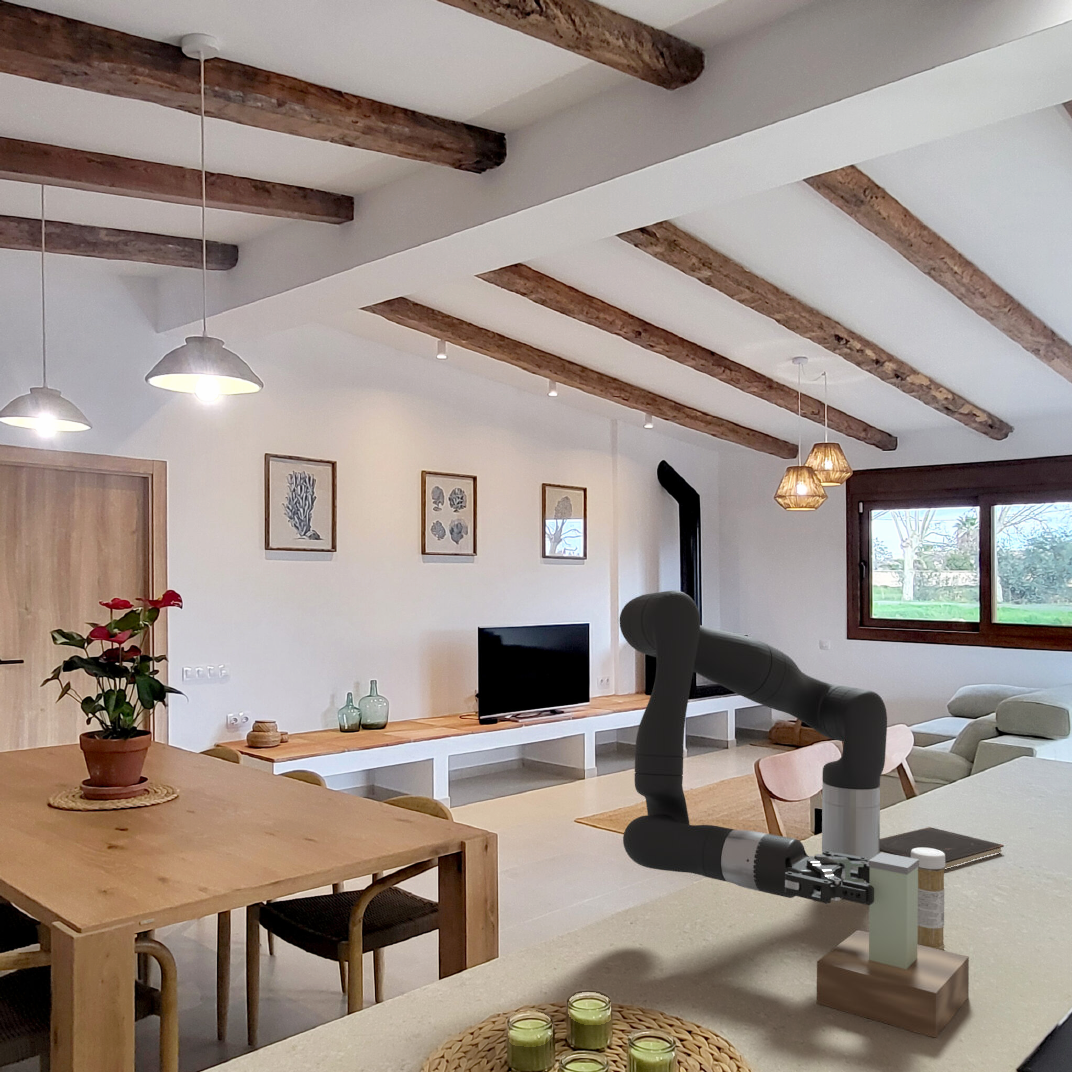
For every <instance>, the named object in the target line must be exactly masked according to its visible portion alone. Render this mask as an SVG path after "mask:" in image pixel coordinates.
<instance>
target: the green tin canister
mask: <svg viewBox="0 0 1072 1072" xmlns="http://www.w3.org/2000/svg"><path fill="white" fill-rule="evenodd" d="M918 866H919V859H915V858H909V857H904V856H899V855H893V854H888V853H882V852H881V853H879V854H878V855H876V856H875V857H873V858H872V859H870V860H869V867H870V885H871V886H872V887H873V888H874V902H873V903H872V904H871V905H868V906H869V911H868V912H869V913H868V914H869V915H868V917H869V918H868V924H869V925H868V933H869V960H871V961H875V962H879V963H883V964H887V965H891V966H895V967H899V968H903V969H907V968H908V967H909V966H910V965H911V964H912V963H913V962H914V961H915V960H916V959H917V940H918Z"/></svg>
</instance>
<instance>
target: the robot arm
mask: <svg viewBox="0 0 1072 1072" xmlns="http://www.w3.org/2000/svg"><path fill="white" fill-rule="evenodd" d="M619 627H620V630H621V631H620V632H621V634H622V636H623V638H624V639H625V641H626V642H627V643H628V644H629V646H630V647H631V648H633V649H635V651H637V652H639V653H642V654H643V655H648V656H650V657H653V658H656V668H655V669H656V670H655V678H654V684H653V688H652V691H651V695H650V697H649V700H648V702H647V705H646V708H645V710H644V712H643V715H642V717H641V719H640V723H639V725H638V730H637V734H636V739H635V746H634V747H635V753H634V787H635V791H636V792H637V793H638V794H639V795H640V796H641V797H642V796H643V797H644V798H645V802H646V810H647V815H641V816H639V817H636V818H634V819H633V820H632V821H631V822H630V823H628V825H627V826H626V828H625V829H624V833H623V837H622V839H623V840H622V842H623V847H624V850H625V852H626V854H627V856H628V857H629V858H630V860H632V861H633V862H634V863H636V864H638V866H639V865H640V866H641V867H644V868H647V869H654V870H658V871H668V872H676V873H689V874H694V875H699V876H702V877H705V878H710V879H712V880H718V881H721V882H727V883H729V884H730V883H731V884H734V885H736V886H738V887H741V888H745V889H748V890H752V891H758V892H762V893H765V894H766V893H767V894H771V895H775V896H780V897H784V898H788V899H792V898H795V897H798V898H803V899H807V900H811V901H815V902H819V903H822V904H827V905H828V904H830V903H832V901H835V902H838V901H842V900H844V901H847V902H853V903H857V904H862V905H865V906H866V905H867V906H869V905H871V904H872V903H873V902H874V888H873V887H872V886H871V885H870V867H869V860H870V859H872V858H873V857H875V856H876V855H878V854H879V853H880V839H881V837H880V836H881V834H880V832H881V829H880V828H881V827H880V825H881V824H880V823H881V822H880V818H881V807H880V806H881V804H880V803H881V802H880V801H881V792H880V791H881V788H880V787H881V776H882V774H883V771H884V768H885V762H886V752H887V751H886V749H887V747H886V746H887V736H888V735H887V734H888V715H887V713H888V712H887V709H886V705H885V702H884V700H883V699H882V697H881V696H880V695H879V694H878V693H876V692H875V691H872V690H870V689H866V688H865V689H864V688H857V687H850V686H844V685H837V684H833V683H828V682H825V681H821V680H820V679H817V678H814V677H811V676H809V675H808V674H806V673H804V672H802V671H801V669H800V668H799V666H798V665H797V664H796V662H795V661H794V660H793V659H792V658H791V657H790V656H789V655H787V654H786V653H784V652H783V651H781V650H779V649H778V648H775V647H773V646H772V645H769V644H768V643H765V642H764V641H761V640H759V639H757V638H754V637H751V636H749V635H744V634H740V633H736V632H731V631H727V630H722V629H717V628H712V627H707V626H704V625H701V615H700V612H699V608H698V606H697V604H696V602H695V601H694V600H693V598H692V597H691V596H690V595H688V594H686V593H685V592H683V591H680V590H667V591H660V592H654V593H653V592H652V593H645V594H641V595H638V596H635V597H634V598H633V599H631V600H629V601H628V602H627V603H626V604H625V605H624V607H623V608H622V609H621V612H620V614H619ZM694 673H696V674H698V675H700V676H701V677H704V678H706V679H707V680H709V681H711V682H713V683H715V684H717V685H719V686H721V687H724V688H725V689H728V690H729V691H732V692H733V693H735V694H737V695H739V696H742V697H743V698H745V699H748V700H750V701H751V702H754V703H756V704H759V705H762V706H764V707H767V708H770V709H772V710H776V711H779V712H783V713H786V714H787V715H788V714H789V715H790V716H792V717H794V718H796V719H797V720H799V721H800V722H803V723H804V724H805V725H807V726H809V727H810V728H812V729H813V730H814V731H816V732H818V733H819V734H821V735H823V736H825V737H827V738H828V739H832V740H834V741H839V742H843V744H842V745H843V746H842V753H841V757H839V758H838V760H834V761H829V762H826V763H825V764H824V766H823V767H822V779H821V780H822V783H821V784H822V789H821V790H822V791H821V792H822V796H821V799H822V801H821V802H822V805H821V806H822V807H821V808H822V809H821V811H822V812H821V816H822V817H821V818H822V821H821V830H822V831H821V854H814V856H809V855H808V854H807V852H806V850H805V846H804V844H803V842H801V840H799V839H797V838H793V837H787V836H781V835H776V834H771V833H767V832H760V831H757V830H748V829H747V830H746V829H741V830H740V829H733V828H729V827H724V826H719V825H712V824H698V825H696V824H695V825H694V824H693V825H692V824H690V818H689V813H688V808H687V807H688V806H687V801H686V800H687V799H686V796H685V793H684V788H683V778H684V777H683V775H684V742H685V740H684V739H685V727H686V726H685V725H686V718H687V717H686V716H687V709H688V704H689V697H690V691H691V686H692V679H693V674H694Z"/></svg>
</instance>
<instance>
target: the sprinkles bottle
mask: <svg viewBox="0 0 1072 1072" xmlns="http://www.w3.org/2000/svg"><path fill="white" fill-rule="evenodd" d="M911 858H915V859H919V866H918V940H917V944H918V945H922V946H926V947H931V948H935V949H939V950H943V951H944V949H945V943H944V942H945V941H944V939H945V938H944V927H945V870H944V869H945V868H944V867H945V854H944V853H943V852H942V851H940V850H937V849H932V848H914V849H912V850H911Z"/></svg>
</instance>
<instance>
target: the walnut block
mask: <svg viewBox="0 0 1072 1072" xmlns="http://www.w3.org/2000/svg"><path fill="white" fill-rule="evenodd" d="M969 958H970V956H967V955H963V954H960V953H954V952H951V951H948V950H947V951H946V950H944V949H943V950H939V949H935V948H931V947H926V946H922V945H918V944H917V959H916V960H915V961H914V962H913V963H912V964H911V965H910V966H909V967H908V968H907V969H903V968H899V967H895V966H891V965H887V964H883V963H879V962H875V961H871V960H869V931H868V932H867V931H863V930H860V929H859V930H858V929H857V930H856V931H855V932H852V934H851V935H849V936H847V937H846V938H845V939H844V940H843V941H841V942H840V943H839V944H838V945H836V946H835V947H834V948H832V949H831V950H830V951H828V952H827V953H826V954H824V956H822V957H821V958H820V959H818V960H816V1004H817V1005H821V1006H825V1007H829V1008H832V1009H836V1010H838V1011H841V1012H846V1013H849V1014H853V1015H857V1016H860V1017H862V1018H866V1019H869V1020H872V1021H873V1020H874V1021H876V1022H880V1023H883V1024H887V1025H890V1026H893V1027H896V1028H901V1029H904V1030H906V1031H911V1032H914V1033H918V1034H921V1035H924V1036H929V1037H931V1038H935V1039H936V1038H937V1037H938V1036H939V1034H940V1033H941V1032H942V1031H943V1030H944V1028H945V1027H946V1026H947V1025H948V1024H949V1022H950V1021H951V1020H952V1018H953V1017H954V1016H955V1015H956V1014H957V1012H958V1011H960V1008H962V1007H963V1005H964V1004H965V1002H967V1000H968V998H969V995H970V994H969V992H970V991H969V987H970V986H969V985H970V982H969V975H970V972H969V971H970V969H969V968H970V966H969V965H970V964H969V963H970V962H969V961H970V959H969Z"/></svg>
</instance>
